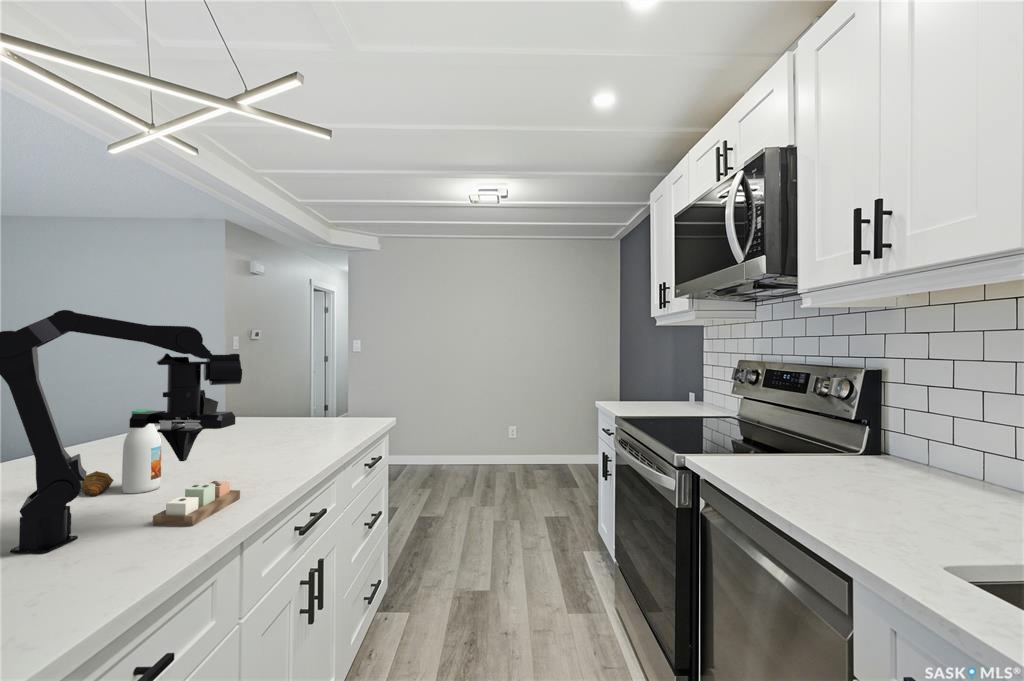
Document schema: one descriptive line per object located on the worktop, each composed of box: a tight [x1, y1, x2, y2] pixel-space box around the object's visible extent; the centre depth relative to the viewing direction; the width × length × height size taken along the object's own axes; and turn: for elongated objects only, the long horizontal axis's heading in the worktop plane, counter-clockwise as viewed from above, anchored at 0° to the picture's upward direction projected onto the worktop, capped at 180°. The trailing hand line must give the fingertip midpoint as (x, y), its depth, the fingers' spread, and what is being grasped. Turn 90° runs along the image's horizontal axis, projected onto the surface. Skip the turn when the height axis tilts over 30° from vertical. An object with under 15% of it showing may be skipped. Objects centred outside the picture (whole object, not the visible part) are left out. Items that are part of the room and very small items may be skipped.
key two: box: [184, 483, 215, 506], centre depth 105 cm, size 4×4×4 cm
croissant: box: [81, 470, 114, 497], centre depth 118 cm, size 14×7×5 cm, turn 37°
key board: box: [152, 489, 241, 527], centre depth 105 cm, size 17×8×2 cm, turn 0°
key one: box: [165, 496, 198, 515], centre depth 99 cm, size 4×4×4 cm
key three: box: [208, 480, 231, 497], centre depth 110 cm, size 4×4×4 cm
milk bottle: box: [121, 408, 162, 494], centre depth 119 cm, size 8×8×20 cm
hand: (183, 460), depth 99 cm, fingers closed
